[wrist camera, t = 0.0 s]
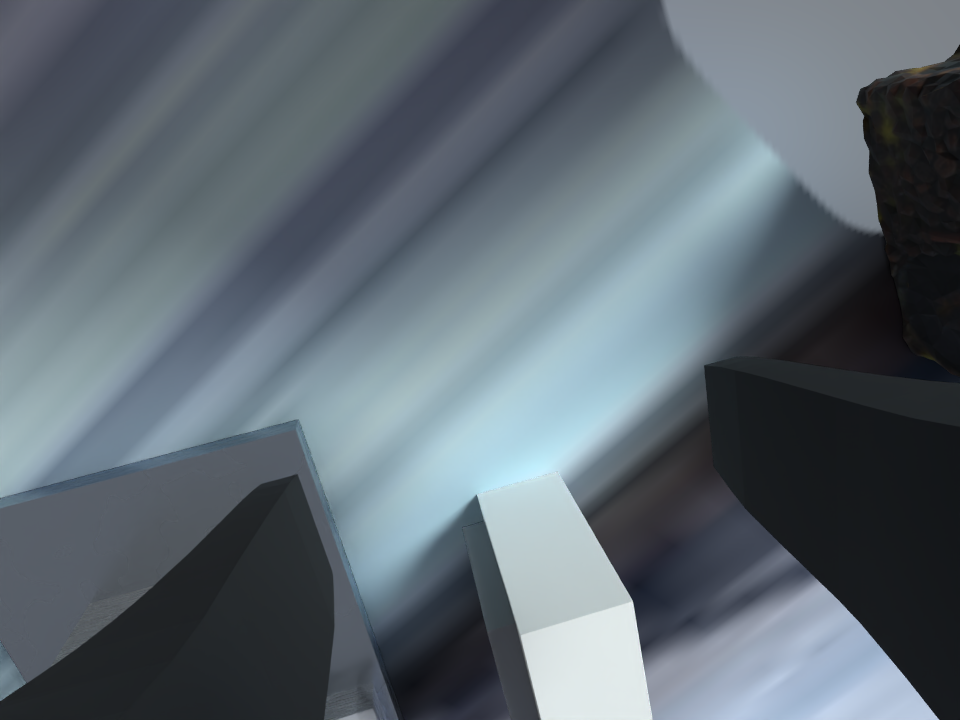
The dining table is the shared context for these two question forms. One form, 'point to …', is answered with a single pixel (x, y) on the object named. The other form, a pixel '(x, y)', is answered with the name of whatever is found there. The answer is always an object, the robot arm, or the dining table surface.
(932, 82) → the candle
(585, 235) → the dining table surface
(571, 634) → the white matte cuboid
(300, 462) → the grey hollow box
